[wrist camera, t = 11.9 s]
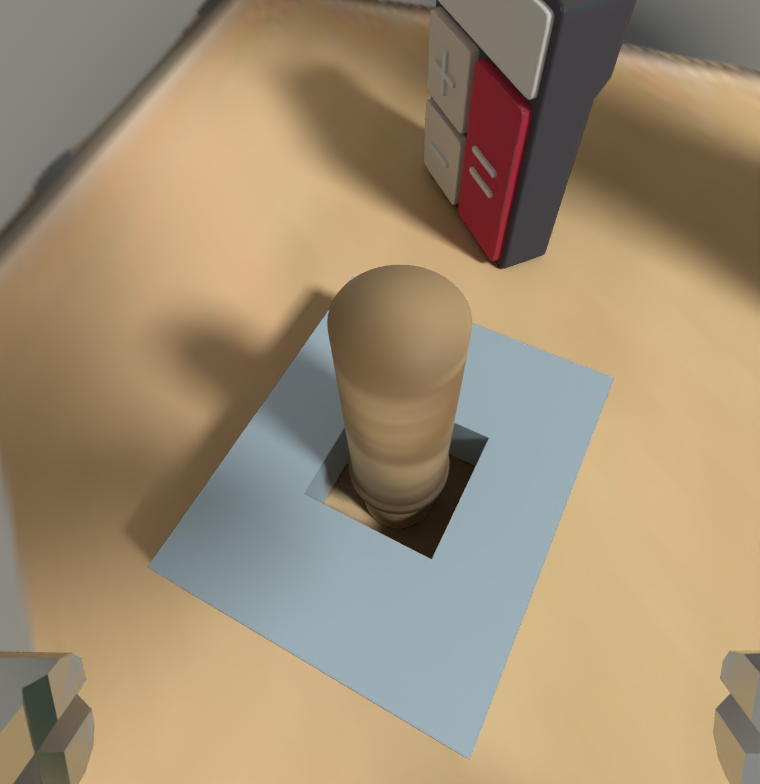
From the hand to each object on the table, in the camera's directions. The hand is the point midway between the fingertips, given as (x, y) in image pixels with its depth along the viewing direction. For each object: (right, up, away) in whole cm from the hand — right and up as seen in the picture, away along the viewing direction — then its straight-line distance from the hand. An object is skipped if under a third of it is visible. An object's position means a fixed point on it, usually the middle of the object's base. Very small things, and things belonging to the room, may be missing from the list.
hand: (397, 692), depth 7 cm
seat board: (+1, -1, +21) cm, 21 cm away
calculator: (+6, +16, +30) cm, 35 cm away
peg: (+1, -1, +21) cm, 21 cm away
